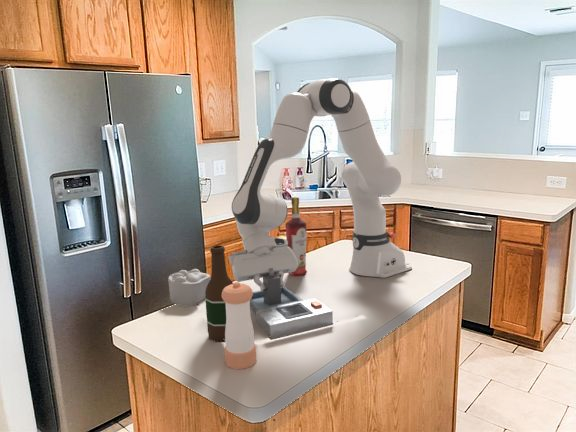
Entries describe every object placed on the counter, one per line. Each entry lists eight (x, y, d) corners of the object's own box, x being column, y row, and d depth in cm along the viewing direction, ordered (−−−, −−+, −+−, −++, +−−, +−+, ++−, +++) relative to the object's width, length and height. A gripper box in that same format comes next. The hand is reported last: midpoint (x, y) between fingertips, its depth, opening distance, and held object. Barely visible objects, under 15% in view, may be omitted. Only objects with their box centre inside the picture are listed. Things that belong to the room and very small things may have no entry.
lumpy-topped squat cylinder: (196, 308, 137) (193, 280, 135) (161, 301, 143) (159, 275, 141) (215, 295, 146) (213, 269, 145) (182, 290, 152) (180, 265, 150)
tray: (284, 293, 146) (284, 285, 146) (304, 308, 134) (303, 300, 133) (242, 301, 141) (242, 294, 140) (259, 318, 128) (258, 310, 128)
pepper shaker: (248, 371, 102) (243, 289, 98) (219, 365, 104) (213, 286, 100) (261, 355, 108) (258, 278, 104) (234, 350, 111) (229, 275, 107)
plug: (276, 298, 140) (274, 265, 137) (281, 303, 136) (280, 269, 134) (263, 301, 138) (262, 268, 136) (268, 305, 134) (267, 271, 132)
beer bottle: (205, 332, 121) (198, 244, 116) (234, 326, 124) (229, 241, 119) (211, 345, 114) (204, 252, 109) (241, 339, 117) (236, 248, 111)
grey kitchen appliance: (315, 311, 132) (314, 295, 131) (332, 324, 123) (332, 308, 122) (256, 324, 125) (255, 308, 124) (270, 340, 116) (270, 322, 115)
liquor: (300, 270, 167) (298, 194, 161) (311, 276, 161) (310, 197, 155) (283, 274, 163) (280, 197, 157) (294, 280, 157) (292, 200, 151)
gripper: (228, 248, 135) (241, 290, 129) (291, 238, 144) (306, 277, 137) (225, 258, 140) (237, 299, 134) (285, 248, 149) (300, 286, 142)
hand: (272, 288), depth 135 cm, fingers closed on plug, 4 cm apart
